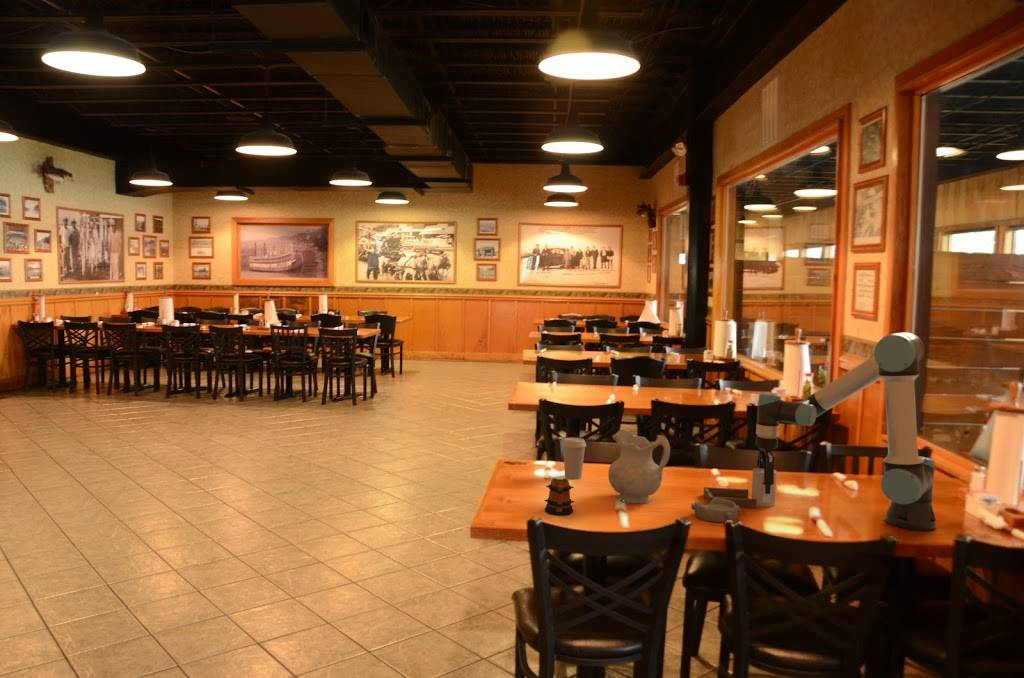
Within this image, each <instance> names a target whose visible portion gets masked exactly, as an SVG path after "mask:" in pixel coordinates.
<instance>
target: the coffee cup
mask: <svg viewBox="0 0 1024 678" xmlns="http://www.w3.org/2000/svg"><path fill="white" fill-rule="evenodd" d="M561 445H562V446H563V464H564V465H563V467H564V478H565V479H567V480H580V479H582V474H583V466H584V459H585V458H584V457H585V451H586V450H585V449H586V447H587V443H586V441H585V439H584V438H582V437H565V438H564V440H563V441H562V444H561Z"/></svg>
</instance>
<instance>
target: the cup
mask: <svg viewBox="0 0 1024 678" xmlns="http://www.w3.org/2000/svg"><path fill="white" fill-rule="evenodd" d="M777 475H778V472H777V470H775V469H774V484H772V486H771V502H770V503H769V502H762V496H763V484H762V483H763V482H764V468H756V467H754V468H752V481H751V494H750V495H751V498H750V499H756V500H757V502H756V506H758V507H765V508H767V507H769V508H770V507H774V506H775V504H776V494H777V493H776V491H777V477H778V476H777Z"/></svg>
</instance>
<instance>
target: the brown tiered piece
mask: <svg viewBox="0 0 1024 678" xmlns="http://www.w3.org/2000/svg"><path fill="white" fill-rule="evenodd" d="M545 487H546V488H548V489H549V493H548V497H547V499H544V502H547V503H546V505H545V507H544V512H545V514H548V515H550V516H556V517H565V516H567V517H568V516H571V515H573V514H574V508H573V506H572V503H575V501H574V500H572V499H571V492H570V491H571V490H572V489H574V488H575V486H571V485H570V481H569V479H568V478H562V479H561V478H560V479H558V478H555V477H553V478H551V481H550V484H548V485H545Z"/></svg>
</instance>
